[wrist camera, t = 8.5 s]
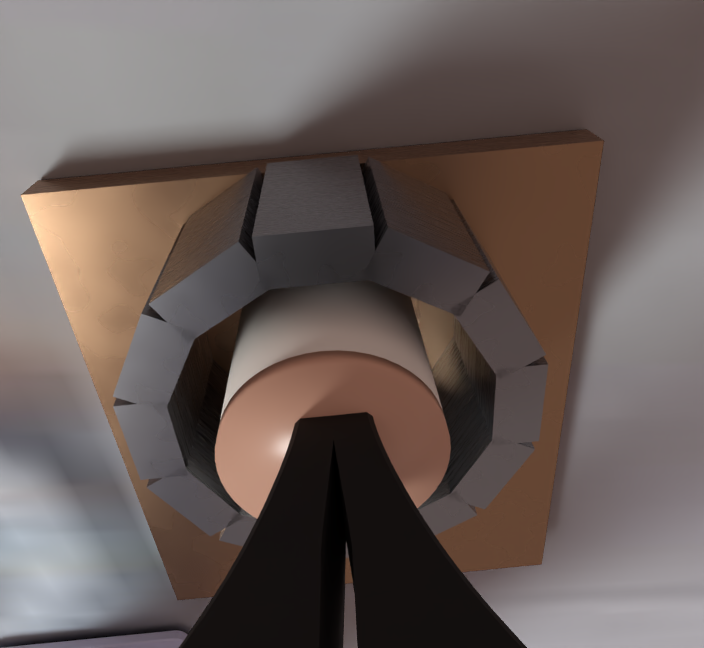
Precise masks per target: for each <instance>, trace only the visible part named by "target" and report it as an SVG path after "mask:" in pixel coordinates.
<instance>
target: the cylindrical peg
mask: <svg viewBox="0 0 704 648" xmlns="http://www.w3.org/2000/svg"><path fill="white" fill-rule="evenodd" d="M361 412H368V413H369V414H370V415H372V416H373V419H374V422H375V425H376V428H377V431H378V434H379V436H380V439H381V441H382V444H383V446H384V448H385V450H386V452H387V454H388V457H389V459H390V461H391V463H392V465H393V467H394V469H395V471H396V472H397V474H398V476H399V478H400V480H401V481H402V483H403V485H404V487H405V488H406V490H407V492H408V494H409V495H410V497H411V499H412V501H413V502H414V504H415V505H416V507H417V508H418V507H419V506H421V505H422V504H423V503H424V502H425V501H426V500H427V499H428V498H429V497H430V496H431V495H432V494H433V492H434V491H435V490H436V488H437V487H438V485H439V484H440V482H441V481H442V479H443V477H444V475H445V472H446V470H447V467H448V463H449V460H450V451H451V444H450V435H449V431H448V427H447V424H446V420H445V417H444V413H443V410H442V406H441V403H440V399H439V395H438V392H437V388H436V385H435V381H434V378H433V374H432V371H431V367H430V364H429V360H428V357H427V353H426V350H425V346H424V343H423V339H422V336H421V332H420V329H419V325H418V322H417V318H416V315H415V311H414V308H413V304H412V300H411V297H410V296H407V295H405V294H402V293H400V292H397V291H395V290H392V289H390V288H387V287H385V286H382V285H380V284H377V283H375V282H372V281H370V280H364V281H353V282H343V283H332V284H322V285H311V286H301V287H290V288H279V289H270V290H268V291H267V292H265V293H264V294H262V295H260V296H259V297H257V298H256V299H254V300H253V301H251V302H250V303H248V304H247V305H245V306H244V307H242V311H241V316H240V321H239V326H238V331H237V337H236V342H235V347H234V352H233V357H232V362H231V367H230V372H229V377H228V383H227V388H226V393H225V398H224V403H223V408H222V413H221V418H220V423H219V429H218V434H217V439H216V445H215V463H216V468H217V472H218V475H219V478H220V480H221V482H222V484H223V486H224V488H225V489H226V491H227V493H228V494H229V495H230V496H231V498H232V499H233V500H234V501H235V502H236V503H237V504H238V505H239V506H240V507H241V508H242V509H243V510H245V511H246V512H248V513H249V514H250V515H252V516H253V517H255V518H258V516H259V514H260V512H261V510H262V508H263V506H264V504H265V502H266V500H267V497H268V495H269V493H270V490H271V488H272V486H273V484H274V481H275V479H276V477H277V474H278V472H279V470H280V467H281V464H282V462H283V459H284V457H285V454H286V451H287V448H288V445H289V442H290V439H291V436H292V432H293V429H294V424H295V423H296V422H297V421H298V420H299V419H300V418H311V417H321V416H331V415H342V414H351V413H361Z"/></svg>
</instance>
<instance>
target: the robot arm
mask: <svg viewBox="0 0 704 648" xmlns="http://www.w3.org/2000/svg"><path fill="white" fill-rule="evenodd" d="M346 542H347V549H348V555H349V561H350V567H351V574H352V580H353V586H354V592H355V606H356V625H357V643H358V648H527V647H526V646H525V645H524V644H523V643H522V642H521V641H520V639H519V638H518V637H517V636H516V635H515V634H514V633H513V632H512V631H511V630H510V629H509V627H508V626H507V625H506V624H505V623H504V622H503V621H502V620H501V619H500V618H499V616H498V615H497V614H496V613H495V612H494V611H493V610H492V609H491V608H490V606H489V605H488V604H487V603H486V602H485V600H484V599H483V598H482V597H481V595H480V594H479V593H478V592H477V591H476V589H475V588H474V587H473V586H472V584H471V583H470V582H469V581H468V580H467V578H466V577H465V576H464V574H463V573H462V572H461V570H460V569H459V568H458V567H457V565H456V564H455V563H454V561H453V560H452V559H451V557H450V556H449V555H448V553H447V552H446V550H445V549H444V548H443V546H442V545H441V543H440V542H439V541H438V539H437V538H436V536H435V535H434V533H433V532H432V530H431V529H430V527H429V526H428V524H427V523H426V521H425V520H424V518H423V517H422V515H421V514H420V512H419V510H418V509H417V507H416V505H415V504H414V502H413V501H412V499H411V497H410V495H409V494H408V492H407V490H406V488H405V487H404V485H403V483H402V481H401V480H400V478H399V476H398V474H397V472H396V471H395V469H394V467H393V465H392V463H391V461H390V459H389V457H388V454H387V452H386V450H385V448H384V446H383V444H382V441H381V439H380V436H379V434H378V431H377V428H376V425H375V422H374V419H373V416H372V415H370V414H369V413H368V412H361V413H351V414H342V415H331V416H321V417H311V418H300V419H299V420H298V421H297V422H296V423H295V424H294V429H293V432H292V436H291V439H290V442H289V445H288V448H287V451H286V454H285V457H284V459H283V462H282V464H281V467H280V470H279V472H278V474H277V477H276V479H275V481H274V484H273V486H272V488H271V490H270V493H269V495H268V497H267V500H266V502H265V504H264V506H263V508H262V510H261V512H260V514H259V516H258V518H257V520H256V522H255V524H254V526H253V528H252V530H251V532H250V534H249V536H248V538H247V540H246V542H245V544H244V545H243V547H242V549H241V551H240V553H239V555H238V556H237V558H236V560H235V562H234V563H233V565H232V567H231V569H230V570H229V572H228V574H227V575H226V577H225V579H224V580H223V582H222V584H221V585H220V587H219V588H218V590H217V592H216V593H215V595H214V596H213V598H212V600H211V601H210V603H209V604H208V606H207V607H206V609H205V610H204V612H203V613H202V615H201V616H200V617H199V619H198V620H197V622H196V623H195V625H194V626H193V628H192V629H191V631H190V632H189V634H188V635H187V634H186V633H185V632H183V631H179V630H173V631H163V632H153V633H143V634H133V635H123V636H113V637H103V638H93V639H83V640H72V641H62V642H52V643H42V644H32V645H22V646H12V647H2V648H343V632H344V600H345V566H346Z"/></svg>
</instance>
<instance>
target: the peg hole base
mask: <svg viewBox="0 0 704 648" xmlns="http://www.w3.org/2000/svg"><path fill="white" fill-rule="evenodd" d="M603 143H604V140H602V139H601V138H599V137H597V136H596V135H594V134H593V133H591V132H590V131H588V130H587V129H584V130H574V131H563V132H552V133H541V134H531V135H520V136H509V137H498V138H488V139H477V140H466V141H456V142H445V143H434V144H423V145H413V146H402V147H391V148H380V149H370V150H359V151H348V152H338V153H327V154H316V155H305V156H295V157H284V158H273V159H262V160H252V161H241V162H230V163H220V164H209V165H198V166H187V167H177V168H166V169H155V170H145V171H134V172H123V173H112V174H102V175H91V176H80V177H69V178H59V179H48V180H38V181H37V182H36V183H35V184H33V185H32V186H31V187H30V188H29V189H27V190H26V191H25V192H24V193H23V194H21V197H22V200H23V202H24V205H25V207H26V210H27V213H28V215H29V218H30V220H31V223H32V226H33V228H34V231H35V233H36V236H37V238H38V241H39V244H40V246H41V249H42V251H43V254H44V256H45V259H46V262H47V264H48V267H49V269H50V272H51V275H52V277H53V280H54V282H55V285H56V287H57V290H58V293H59V295H60V298H61V300H62V303H63V306H64V308H65V311H66V313H67V316H68V318H69V321H70V324H71V326H72V329H73V331H74V334H75V336H76V339H77V342H78V344H79V347H80V349H81V352H82V355H83V357H84V360H85V362H86V365H87V367H88V370H89V373H90V375H91V378H92V380H93V383H94V386H95V388H96V391H97V393H98V396H99V398H100V401H101V404H102V406H103V409H104V411H105V414H106V416H107V419H108V422H109V424H110V427H111V429H112V432H113V435H114V437H115V440H116V442H117V445H118V447H119V450H120V453H121V455H122V458H123V460H124V463H125V466H126V468H127V471H128V473H129V476H130V478H131V481H132V484H133V486H134V489H135V491H136V494H137V496H138V499H139V502H140V504H141V507H142V509H143V512H144V515H145V517H146V520H147V522H148V525H149V527H150V530H151V533H152V535H153V538H154V540H155V543H156V546H157V548H158V551H159V553H160V556H161V558H162V561H163V564H164V566H165V569H166V571H167V574H168V576H169V579H170V582H171V584H172V587H173V589H174V592H175V595H176V597H177V600H185V599H195V598H206V597H213V596H214V595H215V593H216V592H217V590H218V588H219V587H220V585H221V584H222V582H223V580H224V579H225V577H226V575H227V574H228V572H229V570H230V569H231V567H232V565H233V563H234V562H235V560H236V558H237V556H238V555H239V553H240V551H241V549H242V547H243V545H244V544H245V542H246V540H247V538H248V536H249V534H250V532H251V530H252V528H253V526H254V524H255V522H256V520H257V518H255V517H253V516H252V515H250V514H249V513H248V512H246V511H245V510H243V509H242V508H241V507H240V506H239V505H238V504H237V503H236V502H235V501H234V500H233V499H232V498H231V496H230V495H229V494H228V493H227V491H226V489H225V488H224V486H223V484H222V482H221V480H220V478H219V475H218V472H217V468H216V463H215V445H216V439H217V434H218V429H219V423H220V418H221V413H222V408H223V403H224V398H225V393H226V388H227V383H228V377H229V372H230V367H231V362H232V357H233V352H234V347H235V342H236V337H237V331H238V326H239V321H240V316H241V311H242V307H244V306H245V305H247V304H248V303H250V302H251V301H253V300H254V299H256V298H257V297H259V296H260V295H262V294H264V293H265V292H267V291H268V290H270V289H279V288H290V287H301V286H311V285H322V284H332V283H343V282H353V281H364V280H370V281H372V282H375V283H377V284H380V285H382V286H385V287H387V288H390V289H392V290H395V291H397V292H400V293H402V294H405V295H407V296H410V297H411V300H412V304H413V308H414V311H415V315H416V318H417V322H418V325H419V329H420V332H421V336H422V339H423V343H424V346H425V350H426V353H427V357H428V360H429V364H430V367H431V371H432V374H433V378H434V381H435V385H436V388H437V392H438V395H439V399H440V403H441V406H442V410H443V413H444V417H445V420H446V424H447V427H448V431H449V435H450V444H451V451H450V460H449V463H448V467H447V470H446V472H445V475H444V477H443V479H442V481H441V482H440V484H439V485H438V487H437V488H436V490H435V491H434V492H433V494H432V495H431V496H430V497H429V498H428V499H427V500H426V501H425V502H424V503H423V504H422V505H421V506H419V507H418V508H417V509H418V510H419V512H420V514H421V515H422V517H423V518H424V520H425V521H426V523H427V524H428V526H429V527H430V529H431V530H432V532H433V533H434V535H435V536H436V538H437V539H438V541H439V542H440V543H441V545H442V546H443V548H444V549H445V550H446V552H447V553H448V555H449V556H450V557H451V559H452V560H453V561H454V563H455V564H456V565H457V567H458V568H459V569H460V570H461V572H468V571H478V570H488V569H498V568H508V567H519V566H529V565H539V564H542V558H543V551H544V545H545V538H546V531H547V524H548V517H549V511H550V504H551V497H552V490H553V483H554V477H555V470H556V463H557V456H558V449H559V443H560V436H561V429H562V422H563V415H564V409H565V402H566V395H567V388H568V381H569V375H570V368H571V361H572V354H573V347H574V341H575V334H576V327H577V320H578V313H579V306H580V300H581V293H582V286H583V279H584V272H585V266H586V259H587V252H588V245H589V238H590V232H591V225H592V218H593V211H594V204H595V198H596V191H597V184H598V177H599V170H600V164H601V157H602V150H603ZM347 583H353V580H352V574H351V567H350V561H349V555H348V549H347V542H346V566H345V584H347Z"/></svg>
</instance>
